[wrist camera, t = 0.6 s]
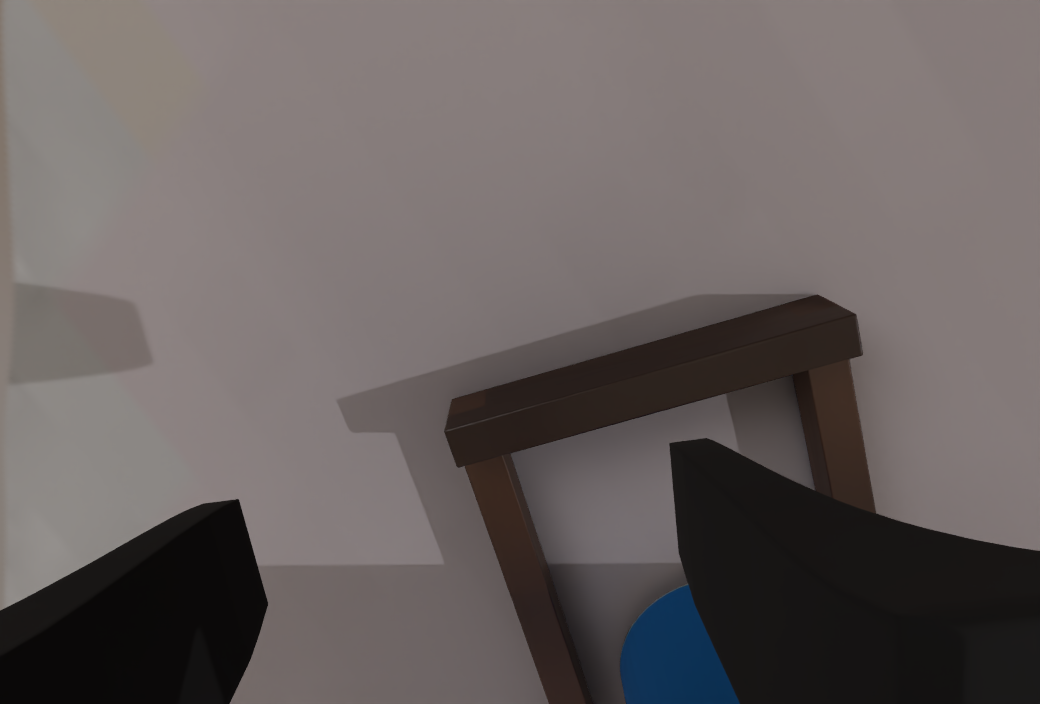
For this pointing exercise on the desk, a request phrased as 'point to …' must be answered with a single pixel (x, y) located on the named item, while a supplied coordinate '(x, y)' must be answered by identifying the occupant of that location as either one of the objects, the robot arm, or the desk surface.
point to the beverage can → (672, 656)
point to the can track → (639, 392)
